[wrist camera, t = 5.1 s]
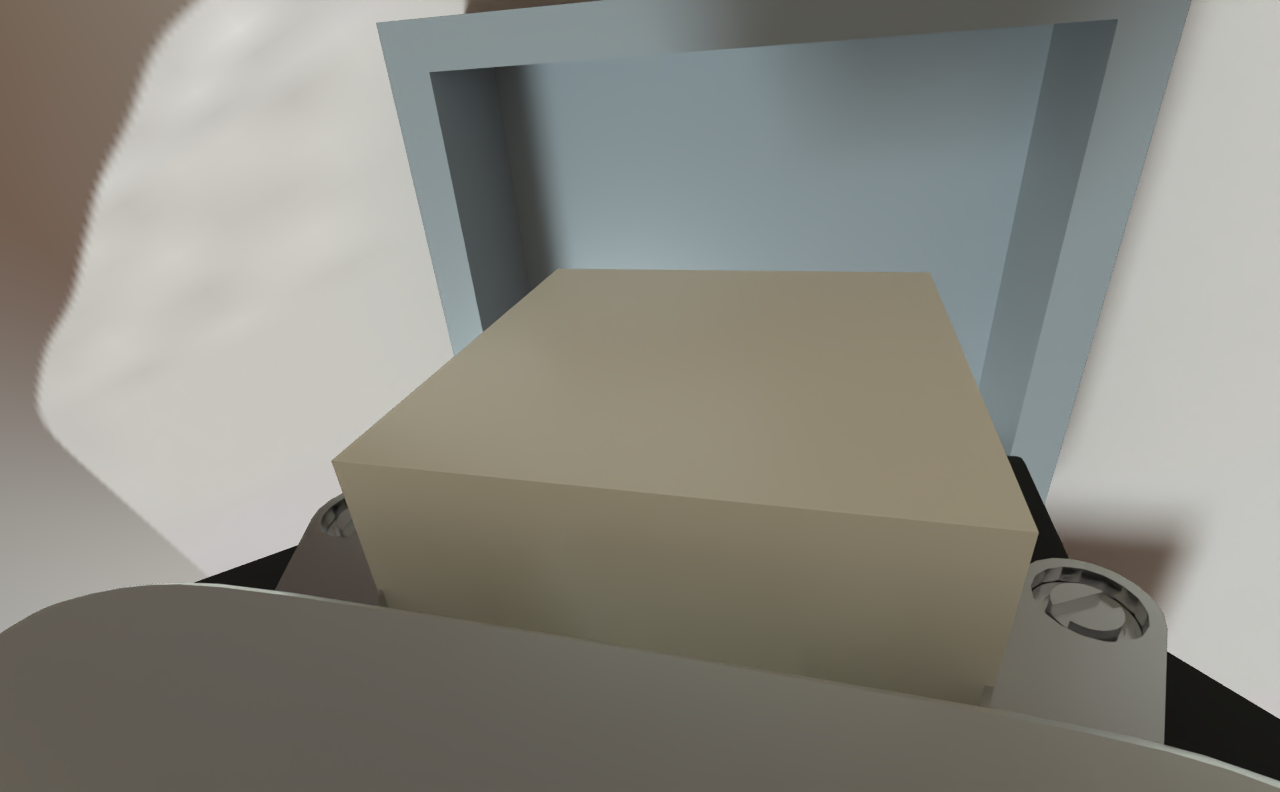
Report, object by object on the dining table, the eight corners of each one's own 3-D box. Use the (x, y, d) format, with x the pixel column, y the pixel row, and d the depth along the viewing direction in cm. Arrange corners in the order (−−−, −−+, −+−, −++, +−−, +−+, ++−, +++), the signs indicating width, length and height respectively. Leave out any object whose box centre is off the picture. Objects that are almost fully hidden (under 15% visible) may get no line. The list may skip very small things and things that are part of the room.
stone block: (929, 273, 10) (1038, 533, 5) (885, 571, 12) (922, 936, 7) (557, 268, 11) (331, 461, 6) (593, 536, 14) (458, 818, 9)
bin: (1109, -38, 16) (1209, -60, 12) (979, 518, 25) (1012, 614, 21) (462, 23, 20) (375, 22, 16) (543, 482, 29) (500, 556, 25)
